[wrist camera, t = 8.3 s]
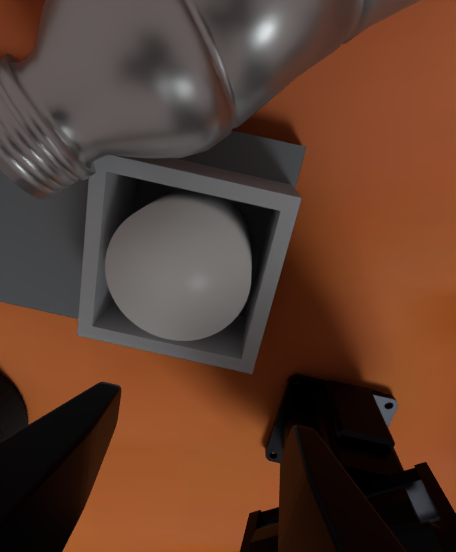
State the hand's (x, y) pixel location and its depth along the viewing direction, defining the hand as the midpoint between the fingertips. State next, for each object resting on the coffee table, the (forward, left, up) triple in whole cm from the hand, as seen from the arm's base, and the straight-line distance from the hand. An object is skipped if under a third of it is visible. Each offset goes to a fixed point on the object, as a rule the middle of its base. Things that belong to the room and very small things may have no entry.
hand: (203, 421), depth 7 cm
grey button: (0, +2, -11) cm, 11 cm away
